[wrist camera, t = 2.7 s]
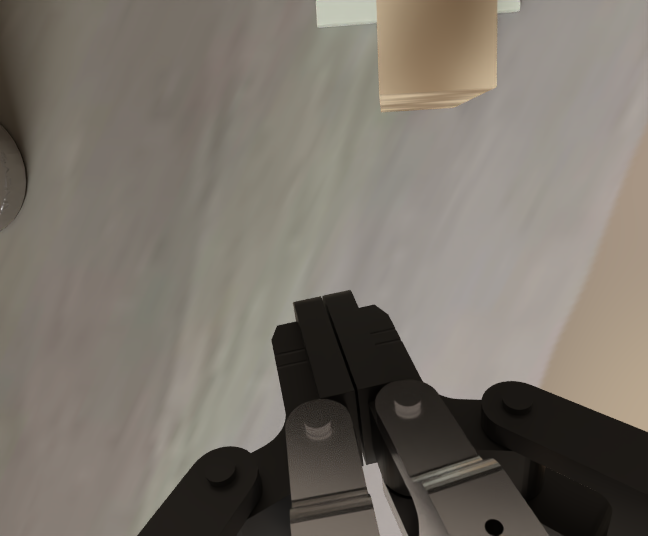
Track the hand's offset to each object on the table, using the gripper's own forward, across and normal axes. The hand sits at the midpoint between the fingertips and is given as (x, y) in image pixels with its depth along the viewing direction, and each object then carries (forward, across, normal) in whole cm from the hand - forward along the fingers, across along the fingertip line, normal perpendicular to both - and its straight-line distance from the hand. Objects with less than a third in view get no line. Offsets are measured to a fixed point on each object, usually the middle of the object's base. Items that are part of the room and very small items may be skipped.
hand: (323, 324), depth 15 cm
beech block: (+23, -11, 0) cm, 25 cm away
